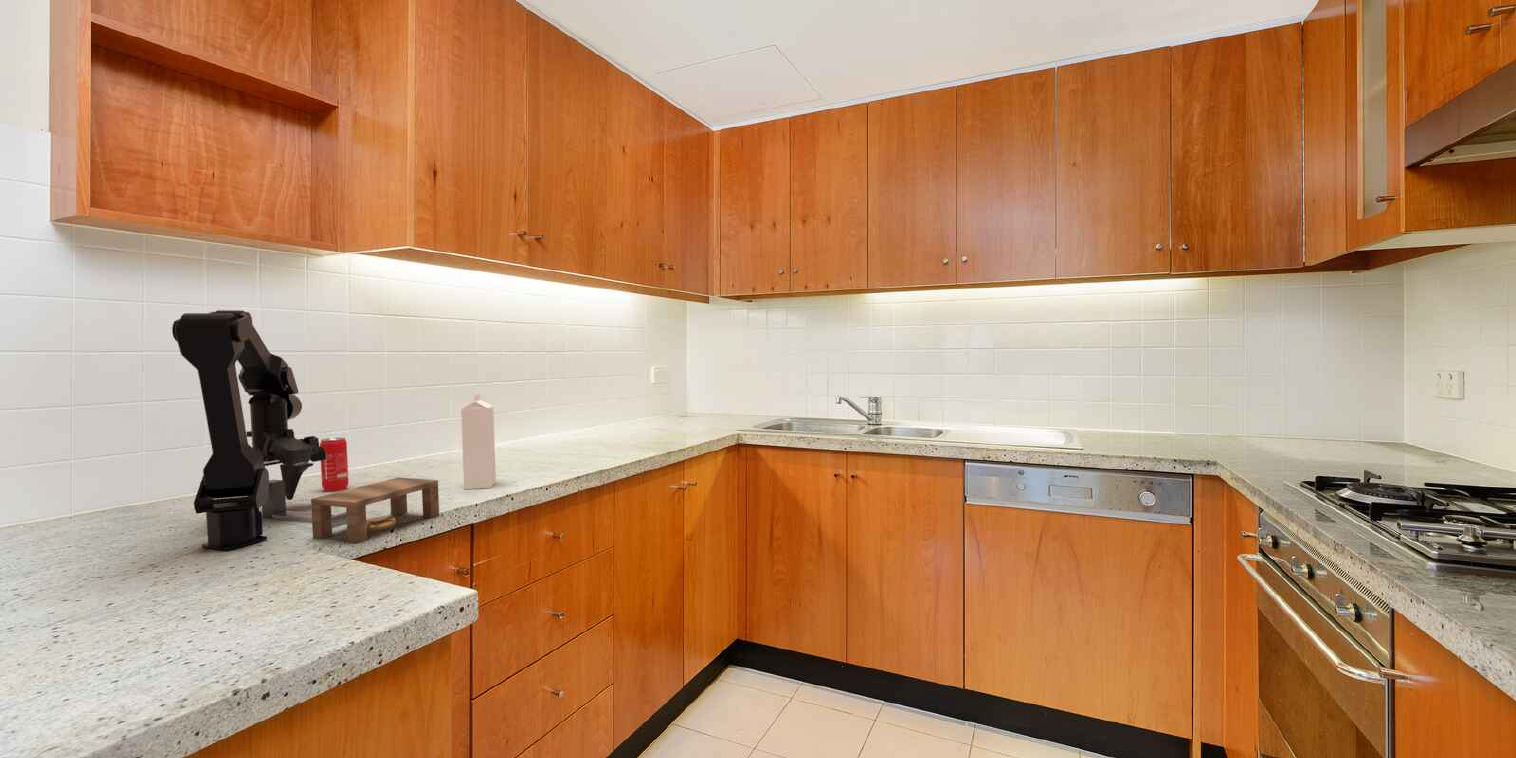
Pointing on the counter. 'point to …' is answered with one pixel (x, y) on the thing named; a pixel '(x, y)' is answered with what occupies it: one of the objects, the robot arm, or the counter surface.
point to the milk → (478, 445)
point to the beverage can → (334, 465)
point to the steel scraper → (277, 507)
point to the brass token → (380, 523)
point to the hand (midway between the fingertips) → (273, 503)
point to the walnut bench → (367, 495)
